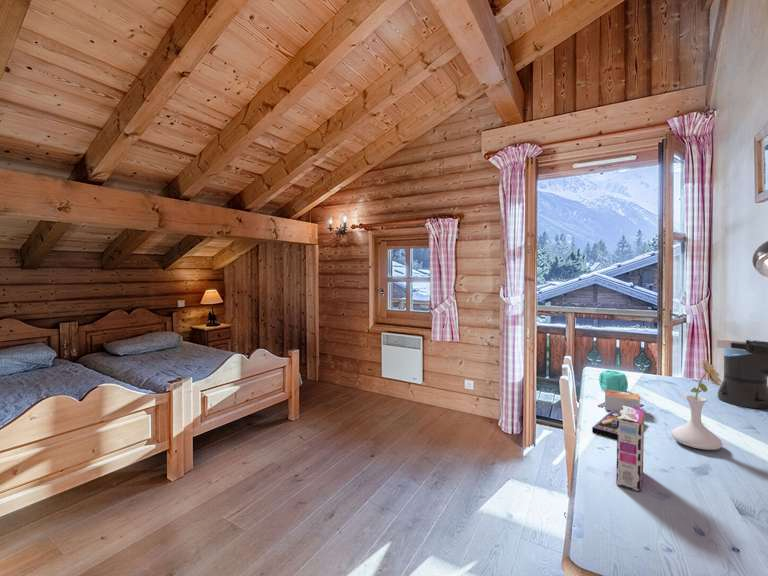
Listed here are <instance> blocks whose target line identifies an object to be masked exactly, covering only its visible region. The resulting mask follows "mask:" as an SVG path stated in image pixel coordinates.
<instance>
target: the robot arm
mask: <svg viewBox="0 0 768 576" xmlns="http://www.w3.org/2000/svg"><path fill="white" fill-rule="evenodd" d="M751 261H752V265H753V267H754V269H755V270H756V271H757V273H758V274H759V275H761V276H763V277H767V278H768V240H767V241H765V242H763V243H761V245H759V246H758V247H757V249H756V250H755V251H754V253H753V256H752V260H751ZM716 348H717V349H718V348H719V349H723V354H722V355H723V380H722V383H720V385H721V386H720V385H719V388H718V390H717V398H718V400H720V401H722V402H725V403H727V404H731V405H735V406H739V407H744V408H745V407H746V408H752V409H763V410H764V409H765V410H766V409H768V341H764V340H757V339H755V340H753V339H742V340H741V339H740V340H739V339H727V338H716Z"/></svg>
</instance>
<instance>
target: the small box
mask: <svg viewBox="0 0 768 576" xmlns="http://www.w3.org/2000/svg"><path fill="white" fill-rule="evenodd" d="M604 402H605V408H604V409H605V411H608V412H610V411H613V412H617V413H619V412H620V410H621V408H622V406H628V407H634V408H639V409H641V407H640V404H641V399H640V394H639V393H635V392H627V391H626V392H620V391H613V390H606V391H605V393H604Z"/></svg>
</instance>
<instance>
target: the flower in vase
mask: <svg viewBox="0 0 768 576" xmlns="http://www.w3.org/2000/svg"><path fill="white" fill-rule="evenodd" d="M701 365H702V369H703V370H704V374H703V375H702V377H701V378H700V380H699V382H698V385H697V387H693V388H692V389H690V392H691V393H695V395H692V394H686V395H684V397H685V399H686V400H687V402H688V404H689V410H690V419H689V421H688V422H687V423H684V424H681V425H679V426H677V427H675V428H673V429H672V430H671V432H670V435H671V437H672V439H674V440H675V441H676V442H678V443H680V444H683V445H685V446H687V447H691V448H695V449H697V450H698V449H700V450H707V451H708V450H709V451H713V450H718V449H721V448H722V447H723V445H724V444H723V442H722V440H721V439H720V438H719V437H718V436H717V435H716V434H715V433H713V432H712V430H709V429H708V428H707V427H706V426H705V425H704V424H703V422H702V411H703V406H704V405H705V404H706V402H708V398H706V397H703V396H699V395H698V394H699V393H701V392H702V393H707V391H708V387H707V386H706V385H705V384H704V383H702V381H703V379H704V378H705V377H708V379H709V380H710V381H711V383H712V384H714V385H715V386H719V387H720V386H721V384H722V382H723V380H721V378H720V377H719V376H720V374H719V372H717V371H716V369H715V368H714V365H713V364H709V361H708V359H707V358H706V359H705V358H702V360H701Z"/></svg>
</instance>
